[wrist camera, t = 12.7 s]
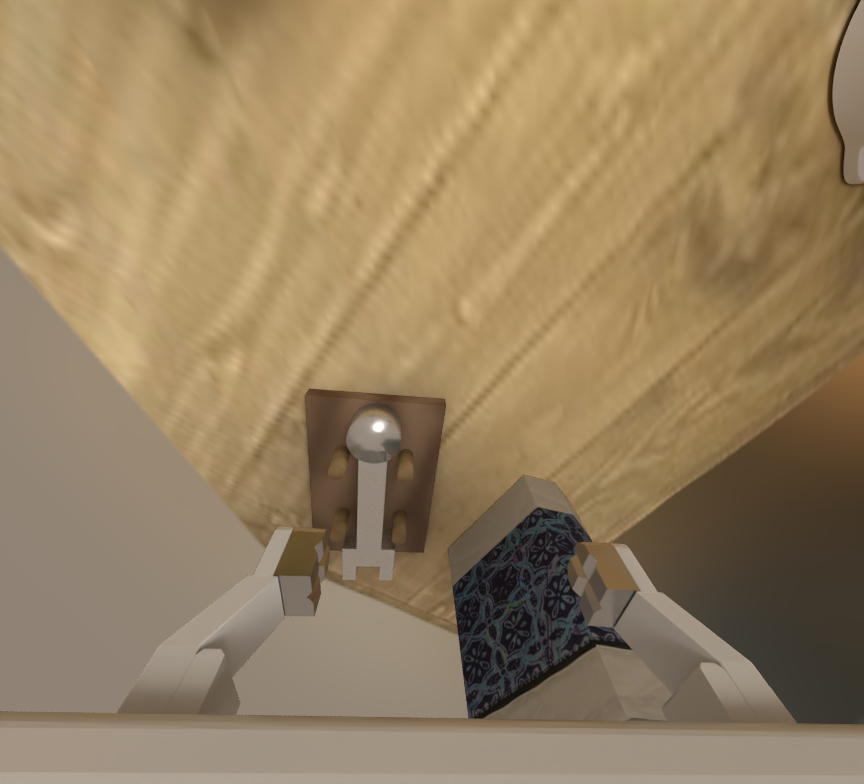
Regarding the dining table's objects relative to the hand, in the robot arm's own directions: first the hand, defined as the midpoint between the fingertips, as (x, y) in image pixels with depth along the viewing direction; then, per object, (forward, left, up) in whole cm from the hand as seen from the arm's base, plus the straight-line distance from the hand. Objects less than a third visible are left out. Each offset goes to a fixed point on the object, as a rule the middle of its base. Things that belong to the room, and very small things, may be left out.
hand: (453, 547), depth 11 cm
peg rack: (+4, +18, -24) cm, 30 cm away
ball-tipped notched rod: (+4, +18, -22) cm, 29 cm away
